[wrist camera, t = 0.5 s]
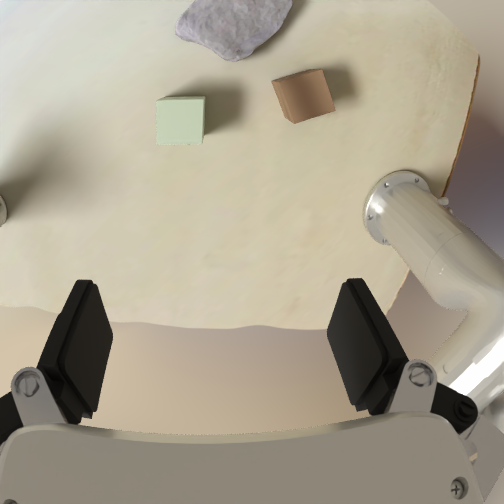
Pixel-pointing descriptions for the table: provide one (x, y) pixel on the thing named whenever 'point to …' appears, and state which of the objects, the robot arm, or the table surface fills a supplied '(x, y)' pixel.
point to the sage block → (180, 120)
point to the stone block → (232, 24)
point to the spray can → (2, 211)
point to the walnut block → (304, 95)
